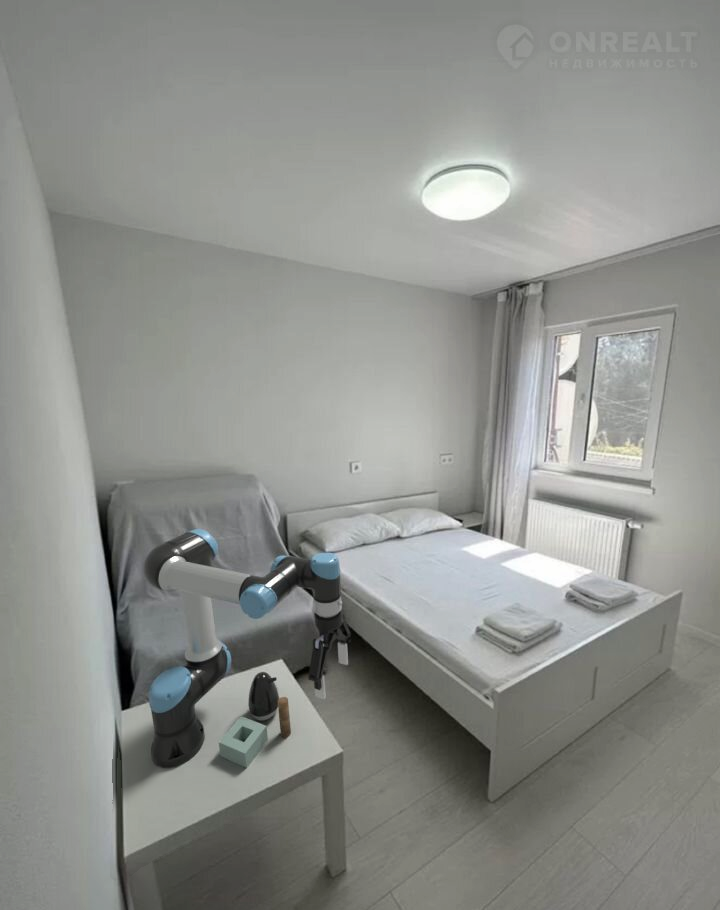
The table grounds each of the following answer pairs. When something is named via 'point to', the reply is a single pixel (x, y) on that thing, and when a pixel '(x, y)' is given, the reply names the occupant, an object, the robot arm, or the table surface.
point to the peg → (284, 717)
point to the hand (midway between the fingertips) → (332, 679)
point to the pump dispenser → (263, 696)
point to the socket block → (240, 750)
